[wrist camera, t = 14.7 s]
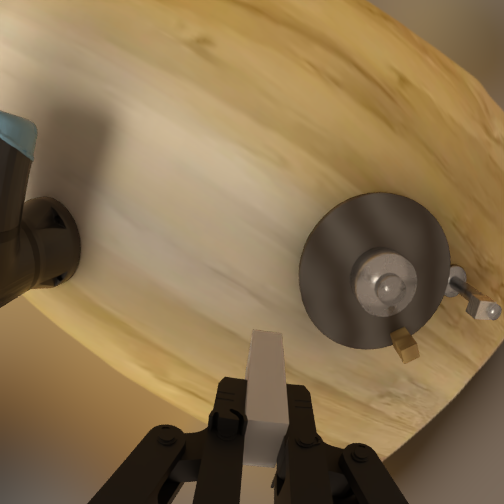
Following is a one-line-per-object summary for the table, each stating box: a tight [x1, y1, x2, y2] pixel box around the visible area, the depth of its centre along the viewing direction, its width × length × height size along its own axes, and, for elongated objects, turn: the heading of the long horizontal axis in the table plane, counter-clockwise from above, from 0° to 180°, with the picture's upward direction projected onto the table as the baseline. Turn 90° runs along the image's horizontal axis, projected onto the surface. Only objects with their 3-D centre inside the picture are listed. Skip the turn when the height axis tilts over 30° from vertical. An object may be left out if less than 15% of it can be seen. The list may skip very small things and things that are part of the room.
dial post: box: [444, 265, 501, 320], centre depth 37 cm, size 6×5×13 cm
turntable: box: [299, 192, 450, 364], centre depth 39 cm, size 22×22×7 cm
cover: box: [350, 247, 417, 317], centre depth 37 cm, size 8×8×6 cm
